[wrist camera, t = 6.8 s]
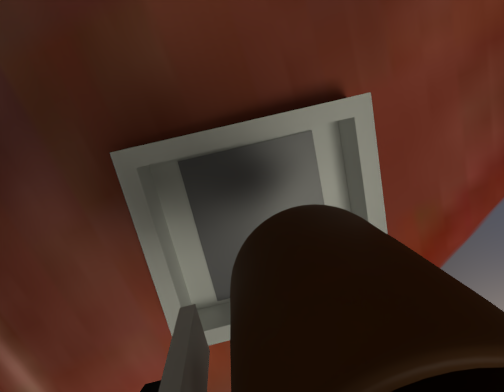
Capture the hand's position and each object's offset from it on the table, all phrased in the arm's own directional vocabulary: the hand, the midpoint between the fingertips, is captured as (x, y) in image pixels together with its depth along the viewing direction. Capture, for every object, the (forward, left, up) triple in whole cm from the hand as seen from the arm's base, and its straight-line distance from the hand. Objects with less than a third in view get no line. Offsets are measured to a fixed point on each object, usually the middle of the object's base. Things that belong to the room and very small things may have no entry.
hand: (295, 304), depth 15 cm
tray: (0, 0, -15) cm, 15 cm away
